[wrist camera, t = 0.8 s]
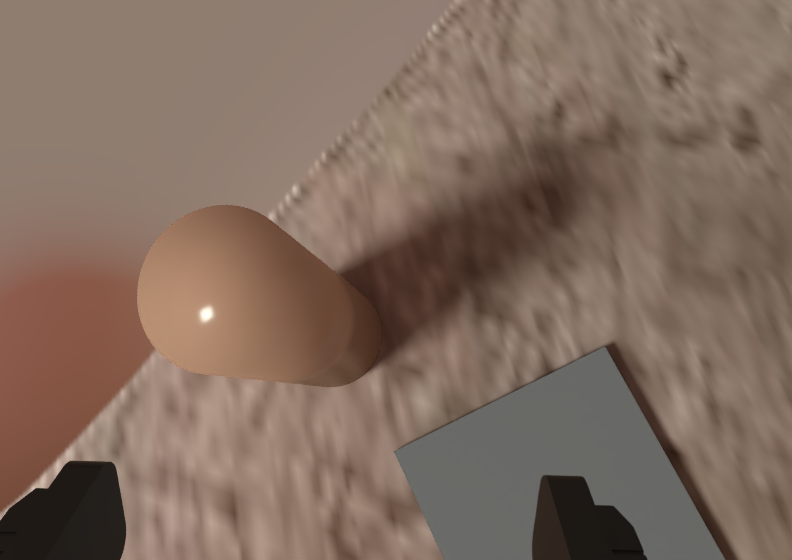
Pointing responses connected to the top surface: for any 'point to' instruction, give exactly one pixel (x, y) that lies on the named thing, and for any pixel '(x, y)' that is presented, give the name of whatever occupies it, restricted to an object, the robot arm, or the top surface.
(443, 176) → the top surface
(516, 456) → the grey mat
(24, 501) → the robot arm
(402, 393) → the top surface
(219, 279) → the terracotta canister
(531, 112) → the top surface
